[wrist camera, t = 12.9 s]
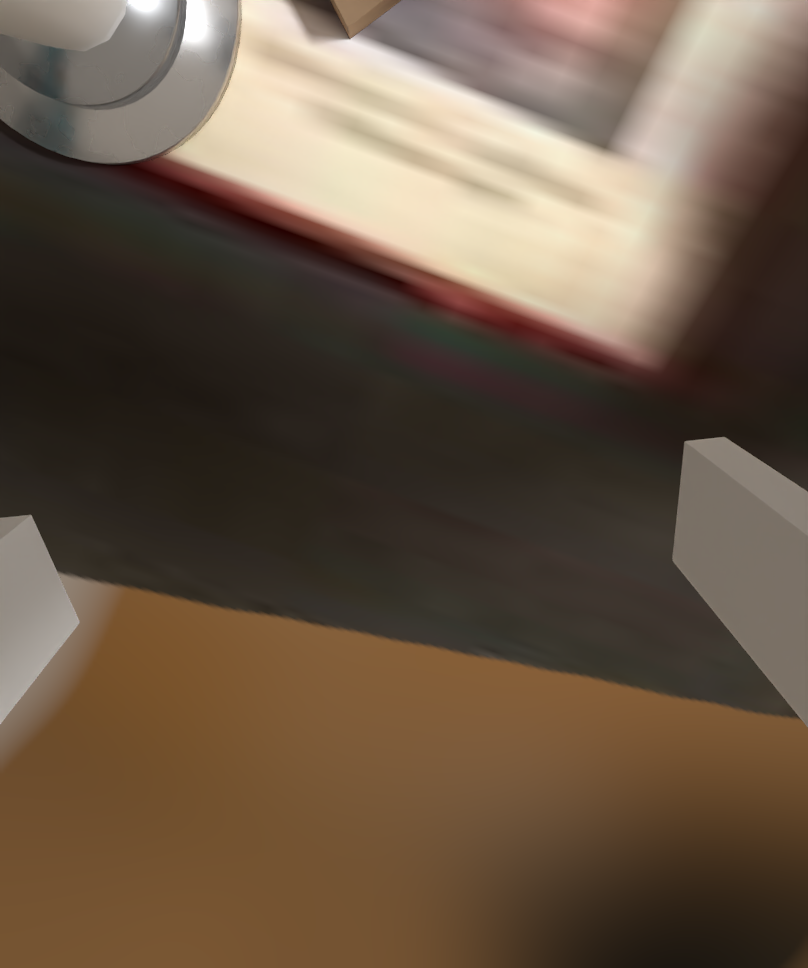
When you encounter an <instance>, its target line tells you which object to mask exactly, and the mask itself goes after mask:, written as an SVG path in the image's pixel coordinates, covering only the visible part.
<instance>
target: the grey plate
mask: <svg viewBox="0 0 808 968" xmlns="http://www.w3.org/2000/svg"><path fill="white" fill-rule="evenodd" d="M241 21H242V13H241V0H127V3H126V12H125V16H124V17H123V19H122V20H121V22H120V24H119V25H118V27H117V28H116V30H115V32H114V33H113V35H112V36H111V38H110V39H109V40H108V41H106V42H104V43H101V44H99V45H97V46H95V47H93V48H91V49H89V50H87V51H76V50H69V49H61V48H55V47H50V46H45V45H41V44H37V43H33V42H30V41H26V40H22V39H18V38H14V37H11V36H7V35H3V34H0V119H1V120H2V121H4V122H5V123H6V124H7V125H8V126H10V127H11V128H13V129H14V130H16V131H17V132H19V133H20V134H22V135H23V136H25V137H26V138H28V139H29V140H31V141H33V142H35V143H37V144H39V145H41V146H43V147H45V148H46V149H49V150H52V151H54V152H57V153H59V154H62V155H65V156H67V157H71V158H76V159H80V160H84V161H88V162H92V163H100V164H109V165H124V164H135V163H140V162H145V161H150V160H153V159H155V158H158V157H161V156H163V155H166V154H168V153H170V152H171V151H173V150H175V149H177V148H178V147H180V146H182V145H183V144H184V143H186V142H187V141H188V140H189V139H191V138H192V137H193V136H194V135H196V134H197V132H198V131H199V130H200V129H201V128H202V127H203V126H204V125H205V124H206V123H207V121H208V120H209V119H210V117H211V116H212V114H213V113H214V111H215V110H216V108H217V107H218V105H219V104H220V102H221V100H222V98H223V96H224V94H225V91H226V89H227V87H228V85H229V82H230V79H231V76H232V73H233V70H234V67H235V63H236V58H237V53H238V48H239V43H240V32H241Z"/></svg>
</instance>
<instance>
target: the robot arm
mask: <svg viewBox="0 0 808 968" xmlns="http://www.w3.org/2000/svg"><path fill="white" fill-rule="evenodd" d="M672 561H673V562H674V563H675V564H676V566H677V567H678V568H679V569H680V571H681V572H682V573H683V574H684V575H685V577H686V578H687V579H688V580H689V582H690V583H691V584H692V585H693V587H694V588H695V589H696V590H697V591H698V593H699V594H700V595H701V596H702V598H703V599H704V600H705V601H706V603H707V604H708V605H709V606H710V607H711V609H712V610H713V611H714V612H715V614H716V615H717V616H718V617H719V619H720V620H721V621H722V622H723V623H724V625H725V626H726V627H727V628H728V630H729V631H730V632H731V633H732V635H733V636H734V637H735V638H736V639H737V641H738V642H739V643H740V644H741V646H742V647H743V648H744V649H745V651H746V652H747V653H748V654H749V655H750V657H751V658H752V659H753V660H754V662H755V663H756V664H757V665H758V667H759V668H760V669H761V670H762V671H763V673H764V674H765V675H766V676H767V678H768V679H769V680H770V681H771V683H772V684H773V685H774V686H775V687H776V689H777V690H778V691H779V692H780V694H781V695H782V696H783V697H784V699H785V700H786V701H787V702H788V704H789V705H790V706H791V707H792V708H793V710H794V711H795V712H796V713H797V715H798V716H799V717H800V718H801V720H802V721H803V722H804V723H805V724H806V725H807V727H808V492H807V491H806V490H804V489H803V488H801V487H800V486H798V485H797V484H795V483H794V482H792V481H791V480H789V479H788V478H786V477H785V476H783V475H782V474H780V473H779V472H777V471H776V470H774V469H772V468H771V467H769V466H768V465H766V464H765V463H763V462H762V461H760V460H759V459H757V458H756V457H754V456H753V455H751V454H750V453H748V452H747V451H745V450H744V449H742V448H741V447H739V446H738V445H736V444H735V443H733V442H732V441H730V440H729V439H727V438H726V437H718V438H710V439H701V440H692V441H685V442H684V452H683V461H682V471H681V481H680V491H679V500H678V510H677V520H676V530H675V539H674V549H673V559H672ZM79 623H80V621H79V619H78V617H77V615H76V613H75V610H74V608H73V606H72V604H71V601H70V599H69V597H68V595H67V593H66V591H65V589H64V586H63V584H62V582H61V579H60V577H59V575H58V573H57V571H56V568H55V566H54V564H53V562H52V560H51V557H50V555H49V553H48V551H47V549H46V546H45V544H44V542H43V540H42V538H41V535H40V533H39V531H38V529H37V527H36V524H35V522H34V520H33V518H32V516H31V515H24V516H15V517H6V518H0V724H1V723H2V721H3V720H4V719H5V717H6V716H7V715H8V713H9V712H10V711H11V710H12V708H13V707H14V706H15V705H16V703H17V702H18V701H19V699H20V698H21V697H22V696H23V694H24V693H25V692H26V691H27V689H28V688H29V687H30V686H31V684H32V683H33V682H34V680H35V679H36V678H37V677H38V675H39V674H40V673H41V671H42V670H43V669H44V668H45V666H46V665H47V664H48V663H49V661H50V660H51V659H52V657H53V656H54V655H55V654H56V652H57V651H58V650H59V649H60V647H61V646H62V645H63V643H64V642H65V641H66V640H67V638H68V637H69V636H70V635H71V633H72V632H73V631H74V629H75V628H76V627H77V625H78V624H79Z"/></svg>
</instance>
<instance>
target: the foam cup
mask: <svg viewBox="0 0 808 968" xmlns="http://www.w3.org/2000/svg"><path fill="white" fill-rule="evenodd" d="M126 3H127V0H0V34H3V35H7V36H11V37H14V38H18V39H22V40H26V41H30V42H33V43H37V44H41V45H45V46H50V47H55V48H61V49H69V50H76V51H87V50H89V49H91V48H93V47H95V46H97V45H99V44H101V43H104V42H106V41H108V40H109V39H110V38H111V36H112V35H113V33H114V32H115V30H116V28H117V27H118V25H119V24H120V22H121V20H122V19H123V17H124V16H125V12H126Z"/></svg>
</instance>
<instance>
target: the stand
mask: <svg viewBox="0 0 808 968" xmlns="http://www.w3.org/2000/svg"><path fill="white" fill-rule="evenodd" d="M330 1H331V3H332V5H333V7H334V9H335V11H336V13H337V15H338V17H339V19H340V21H341V23H342V25H343V27H344V29H345V30H346V32H347V34H348V36H349V38H350V39H351V38H352V37H353V36H355V35H356V34H357V33H359V32H360V31H361V30H363V29H364V28H365V27H367V26H368V25H369V24H371V23H372V22H373V21H375V20H376V19H377V18H379V17H380V16H381V15H383V14H384V13H385V12H387V11H388V10H389V9H391V8H392V7H393V6H395V5H396V4H397V3H399V2H400V1H401V0H330Z"/></svg>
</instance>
